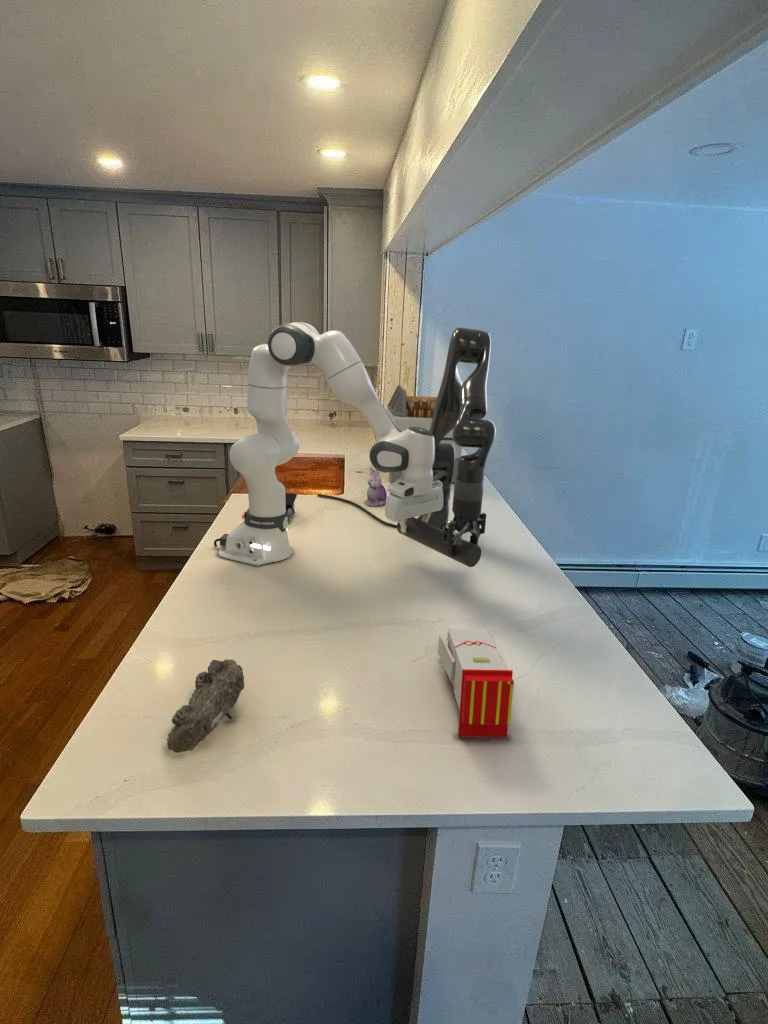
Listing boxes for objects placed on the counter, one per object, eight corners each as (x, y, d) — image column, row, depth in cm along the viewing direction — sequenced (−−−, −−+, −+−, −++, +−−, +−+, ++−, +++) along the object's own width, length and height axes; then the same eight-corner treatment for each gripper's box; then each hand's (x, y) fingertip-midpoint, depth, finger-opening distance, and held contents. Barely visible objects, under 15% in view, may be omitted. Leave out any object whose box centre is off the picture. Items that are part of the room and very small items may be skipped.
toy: (488, 613, 130) (523, 677, 101) (484, 667, 133) (517, 744, 104) (435, 612, 130) (455, 676, 101) (432, 666, 133) (451, 743, 103)
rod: (480, 564, 153) (482, 543, 151) (464, 569, 149) (467, 548, 147) (411, 531, 173) (412, 512, 171) (396, 535, 169) (397, 516, 167)
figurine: (371, 508, 224) (372, 471, 219) (360, 500, 232) (361, 464, 227) (392, 505, 228) (394, 469, 223) (380, 497, 236) (382, 462, 231)
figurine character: (292, 528, 204) (297, 509, 217) (292, 509, 201) (297, 491, 214) (274, 527, 204) (280, 509, 217) (273, 508, 200) (279, 491, 214)
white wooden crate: (382, 463, 289) (386, 382, 275) (445, 464, 293) (451, 384, 279) (390, 482, 257) (394, 392, 243) (460, 483, 261) (468, 394, 247)
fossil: (192, 660, 117) (244, 628, 112) (224, 691, 120) (276, 661, 115) (142, 746, 98) (202, 712, 93) (182, 779, 101) (242, 748, 96)
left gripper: (435, 476, 171) (431, 519, 176) (382, 487, 158) (380, 532, 163) (450, 481, 166) (446, 525, 171) (397, 493, 154) (394, 540, 159)
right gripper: (475, 487, 155) (469, 542, 160) (438, 496, 146) (433, 554, 152) (496, 494, 149) (490, 551, 155) (459, 504, 141) (454, 564, 146)
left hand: (413, 529), depth 167 cm, fingers closed on rod, 6 cm apart
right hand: (462, 552), depth 153 cm, fingers open, 8 cm apart
